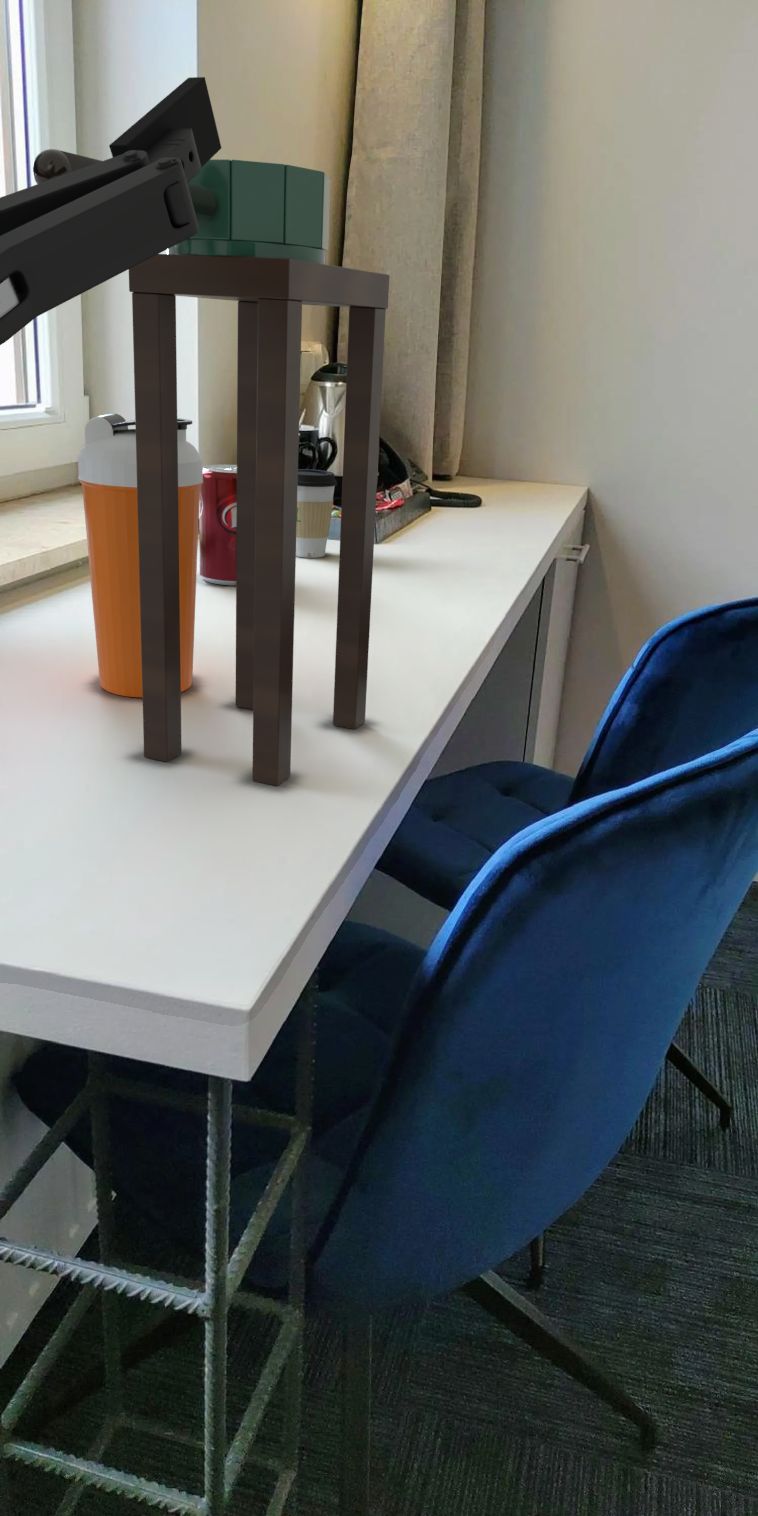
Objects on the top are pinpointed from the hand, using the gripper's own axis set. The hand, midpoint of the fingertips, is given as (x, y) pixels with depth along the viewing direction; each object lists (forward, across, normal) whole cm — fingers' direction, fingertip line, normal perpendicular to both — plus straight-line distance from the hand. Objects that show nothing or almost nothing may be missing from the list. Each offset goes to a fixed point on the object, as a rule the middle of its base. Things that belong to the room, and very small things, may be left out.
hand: (69, 115), depth 48 cm
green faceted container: (+6, 0, -9) cm, 10 cm away
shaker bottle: (+4, -13, -42) cm, 45 cm away
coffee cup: (+51, -26, -70) cm, 90 cm away
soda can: (+36, -26, -61) cm, 75 cm away
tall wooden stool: (-1, 0, -39) cm, 39 cm away
